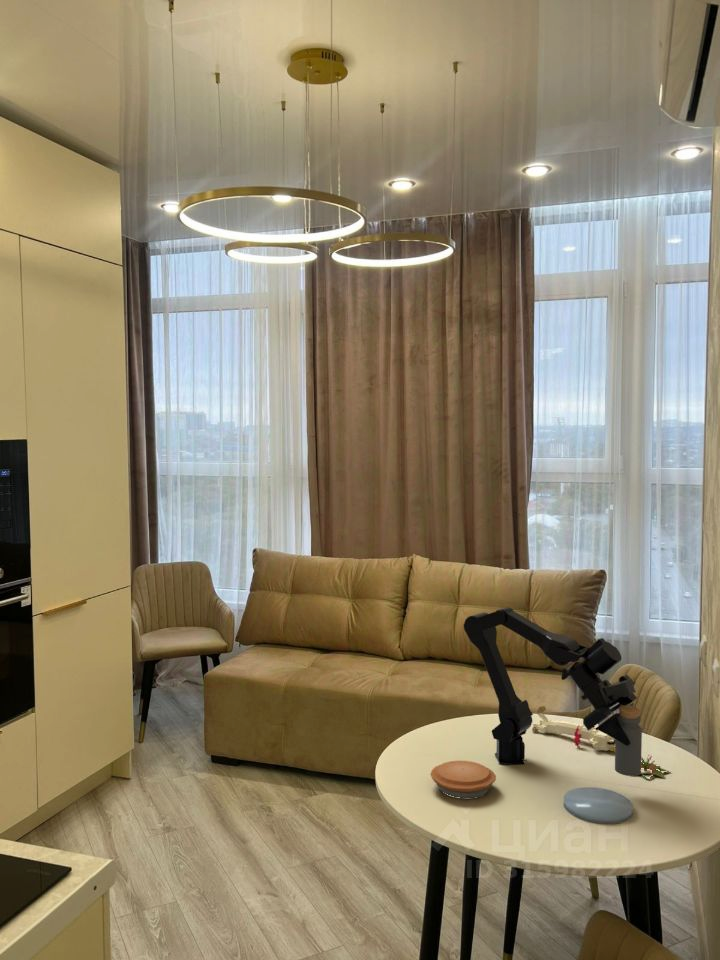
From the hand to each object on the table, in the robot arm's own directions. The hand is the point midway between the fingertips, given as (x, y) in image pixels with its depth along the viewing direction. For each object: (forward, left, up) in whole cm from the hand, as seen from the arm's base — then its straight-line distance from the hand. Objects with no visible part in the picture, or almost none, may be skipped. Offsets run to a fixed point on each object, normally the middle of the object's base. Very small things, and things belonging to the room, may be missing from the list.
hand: (634, 741), depth 186 cm
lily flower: (+9, +14, -14) cm, 22 cm away
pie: (-39, +6, -14) cm, 42 cm away
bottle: (-1, +1, -8) cm, 8 cm away
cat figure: (-3, +35, -14) cm, 38 cm away
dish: (-10, -5, -13) cm, 18 cm away
